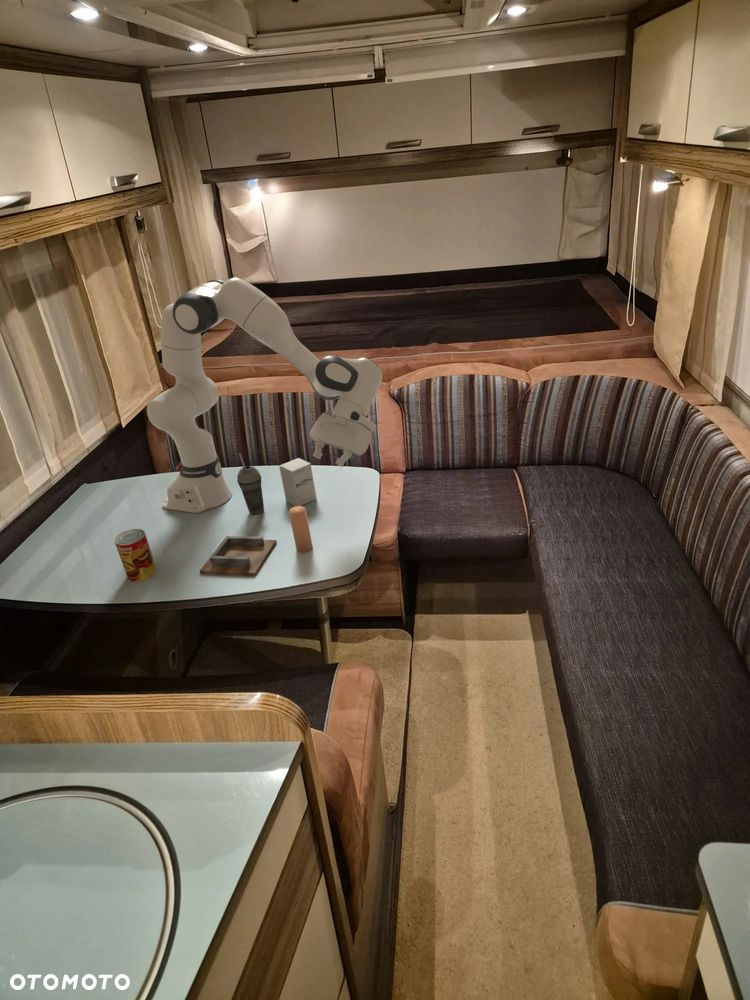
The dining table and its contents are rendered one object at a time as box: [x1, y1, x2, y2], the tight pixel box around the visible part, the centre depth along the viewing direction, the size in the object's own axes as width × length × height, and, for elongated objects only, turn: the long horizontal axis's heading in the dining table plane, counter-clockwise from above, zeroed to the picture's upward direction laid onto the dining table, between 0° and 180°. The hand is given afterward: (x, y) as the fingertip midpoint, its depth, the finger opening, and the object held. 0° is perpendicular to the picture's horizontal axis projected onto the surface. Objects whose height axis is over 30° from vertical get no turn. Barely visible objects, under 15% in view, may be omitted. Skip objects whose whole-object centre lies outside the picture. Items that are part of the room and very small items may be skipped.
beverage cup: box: [236, 453, 265, 517], centre depth 193 cm, size 7×7×20 cm
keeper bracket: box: [199, 535, 277, 577], centre depth 175 cm, size 16×16×4 cm
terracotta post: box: [288, 505, 313, 553], centre depth 174 cm, size 4×4×12 cm
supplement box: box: [278, 457, 317, 507], centre depth 199 cm, size 7×7×13 cm
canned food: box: [114, 528, 158, 583], centre depth 172 cm, size 8×8×12 cm
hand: (327, 461), depth 174 cm, fingers open, 8 cm apart
